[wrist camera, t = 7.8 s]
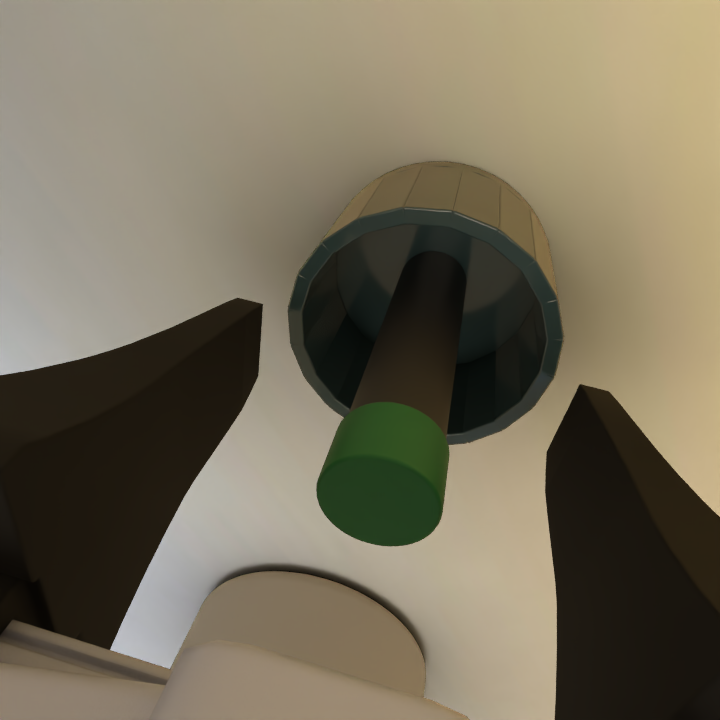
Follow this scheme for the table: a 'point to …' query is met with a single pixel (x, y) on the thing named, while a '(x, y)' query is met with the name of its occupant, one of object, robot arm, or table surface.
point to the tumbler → (482, 298)
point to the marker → (400, 414)
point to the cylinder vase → (312, 627)
